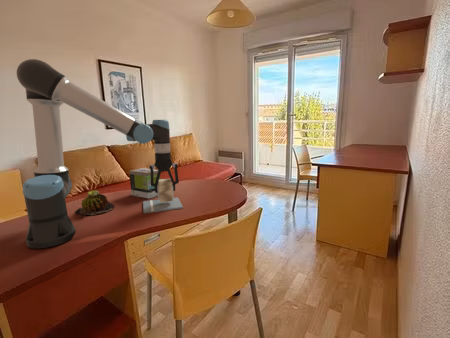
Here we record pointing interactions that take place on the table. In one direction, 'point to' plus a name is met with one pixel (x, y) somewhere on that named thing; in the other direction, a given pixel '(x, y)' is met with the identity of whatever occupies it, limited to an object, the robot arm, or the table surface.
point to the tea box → (143, 183)
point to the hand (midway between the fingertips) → (165, 198)
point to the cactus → (94, 204)
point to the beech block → (165, 190)
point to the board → (161, 205)
